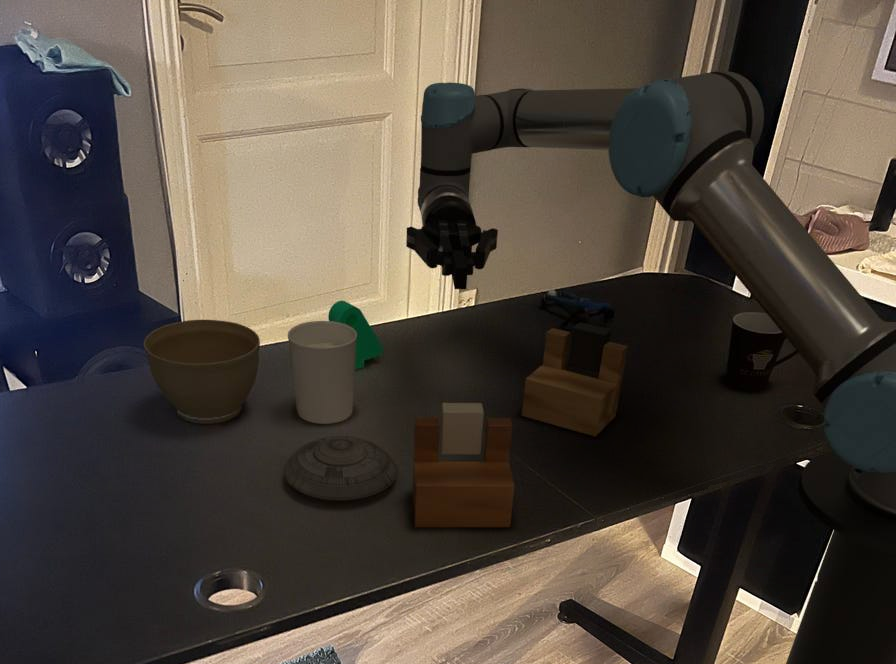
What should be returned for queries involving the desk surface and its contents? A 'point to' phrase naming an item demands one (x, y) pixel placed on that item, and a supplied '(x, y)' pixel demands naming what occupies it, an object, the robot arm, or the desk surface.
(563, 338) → the far stand
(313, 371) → the white tumbler cup
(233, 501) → the desk surface
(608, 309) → the person figurine
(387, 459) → the flying saucer
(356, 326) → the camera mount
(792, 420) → the desk surface
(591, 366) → the black block
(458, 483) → the near stand
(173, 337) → the planter bowl
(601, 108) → the robot arm
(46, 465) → the desk surface
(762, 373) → the coffee mug
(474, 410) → the ivory key
